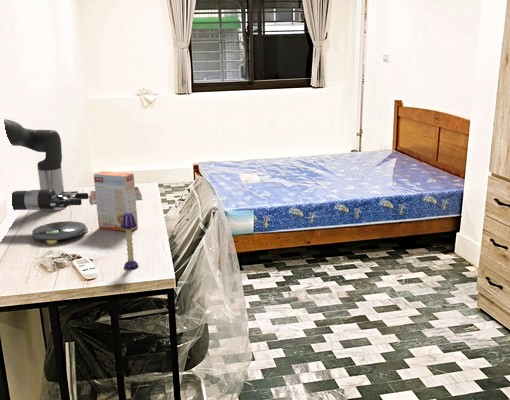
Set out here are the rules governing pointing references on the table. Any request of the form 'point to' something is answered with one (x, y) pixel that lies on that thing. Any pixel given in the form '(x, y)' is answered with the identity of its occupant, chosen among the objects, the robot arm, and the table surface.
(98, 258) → the table surface
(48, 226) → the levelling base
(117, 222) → the cracker box
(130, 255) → the toy lamp
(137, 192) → the picture frame
